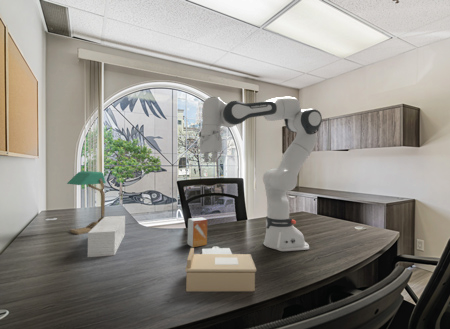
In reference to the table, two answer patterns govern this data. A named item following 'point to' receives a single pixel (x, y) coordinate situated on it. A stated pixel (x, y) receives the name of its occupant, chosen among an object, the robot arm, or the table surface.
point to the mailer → (220, 281)
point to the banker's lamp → (89, 179)
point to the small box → (197, 232)
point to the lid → (219, 262)
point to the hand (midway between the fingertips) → (209, 162)
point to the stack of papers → (106, 236)
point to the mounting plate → (216, 251)
